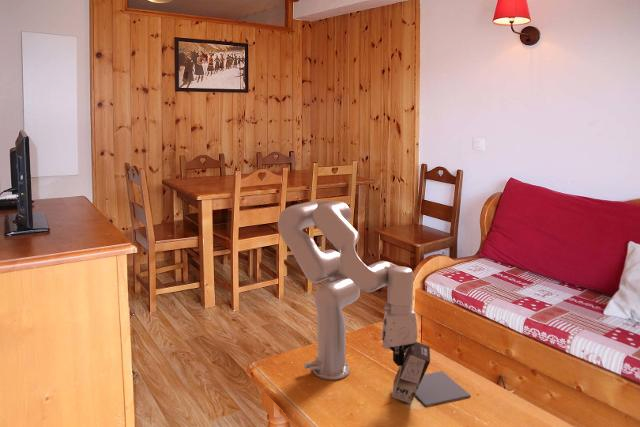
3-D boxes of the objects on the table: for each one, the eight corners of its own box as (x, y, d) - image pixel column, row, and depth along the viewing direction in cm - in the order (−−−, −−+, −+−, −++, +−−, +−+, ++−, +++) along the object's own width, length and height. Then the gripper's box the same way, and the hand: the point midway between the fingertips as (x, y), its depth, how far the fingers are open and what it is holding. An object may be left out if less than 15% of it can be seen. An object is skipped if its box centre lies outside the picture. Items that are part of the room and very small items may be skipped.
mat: (425, 406, 160) (425, 404, 160) (400, 380, 175) (400, 379, 175) (470, 396, 165) (470, 395, 165) (442, 372, 180) (442, 371, 180)
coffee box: (411, 404, 161) (430, 362, 156) (391, 397, 162) (409, 354, 156) (412, 386, 170) (430, 346, 164) (393, 379, 170) (410, 338, 165)
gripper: (382, 315, 153) (381, 373, 157) (428, 308, 158) (425, 365, 162) (372, 306, 160) (371, 362, 164) (415, 300, 165) (413, 354, 169)
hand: (398, 363), depth 163 cm, fingers closed
